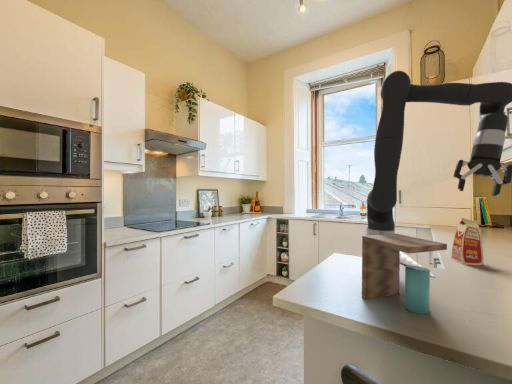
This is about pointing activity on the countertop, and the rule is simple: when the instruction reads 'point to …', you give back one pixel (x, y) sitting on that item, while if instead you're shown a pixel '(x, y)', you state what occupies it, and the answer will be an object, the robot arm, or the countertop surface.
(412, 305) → the teal rounded cylinder
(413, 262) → the unicorn horn
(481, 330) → the countertop surface
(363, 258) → the shelf
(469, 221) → the milk carton
